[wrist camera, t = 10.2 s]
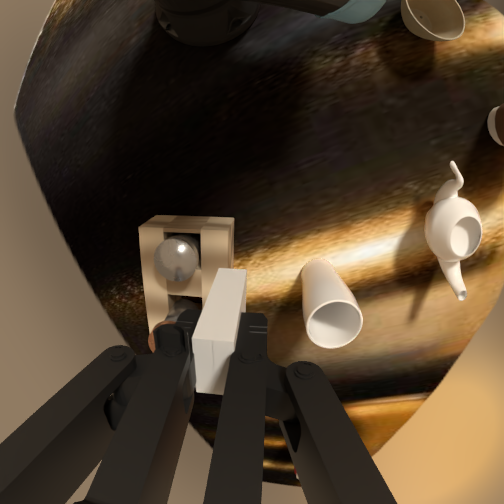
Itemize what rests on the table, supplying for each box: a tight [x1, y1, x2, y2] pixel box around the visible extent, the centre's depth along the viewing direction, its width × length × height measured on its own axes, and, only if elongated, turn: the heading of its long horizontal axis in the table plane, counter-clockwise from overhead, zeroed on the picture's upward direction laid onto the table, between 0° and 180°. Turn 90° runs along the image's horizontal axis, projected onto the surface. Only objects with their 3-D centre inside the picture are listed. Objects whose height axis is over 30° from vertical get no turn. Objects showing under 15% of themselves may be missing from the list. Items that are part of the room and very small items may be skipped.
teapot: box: [424, 161, 482, 301], centre depth 40 cm, size 10×20×9 cm, turn 12°
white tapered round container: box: [401, 0, 465, 41], centre depth 30 cm, size 10×10×7 cm
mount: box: [139, 215, 234, 333], centre depth 47 cm, size 24×12×7 cm, turn 178°
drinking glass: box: [301, 258, 363, 348], centre depth 41 cm, size 7×7×15 cm
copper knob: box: [148, 299, 199, 353], centre depth 40 cm, size 5×5×8 cm
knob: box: [154, 232, 201, 282], centre depth 41 cm, size 5×5×8 cm
